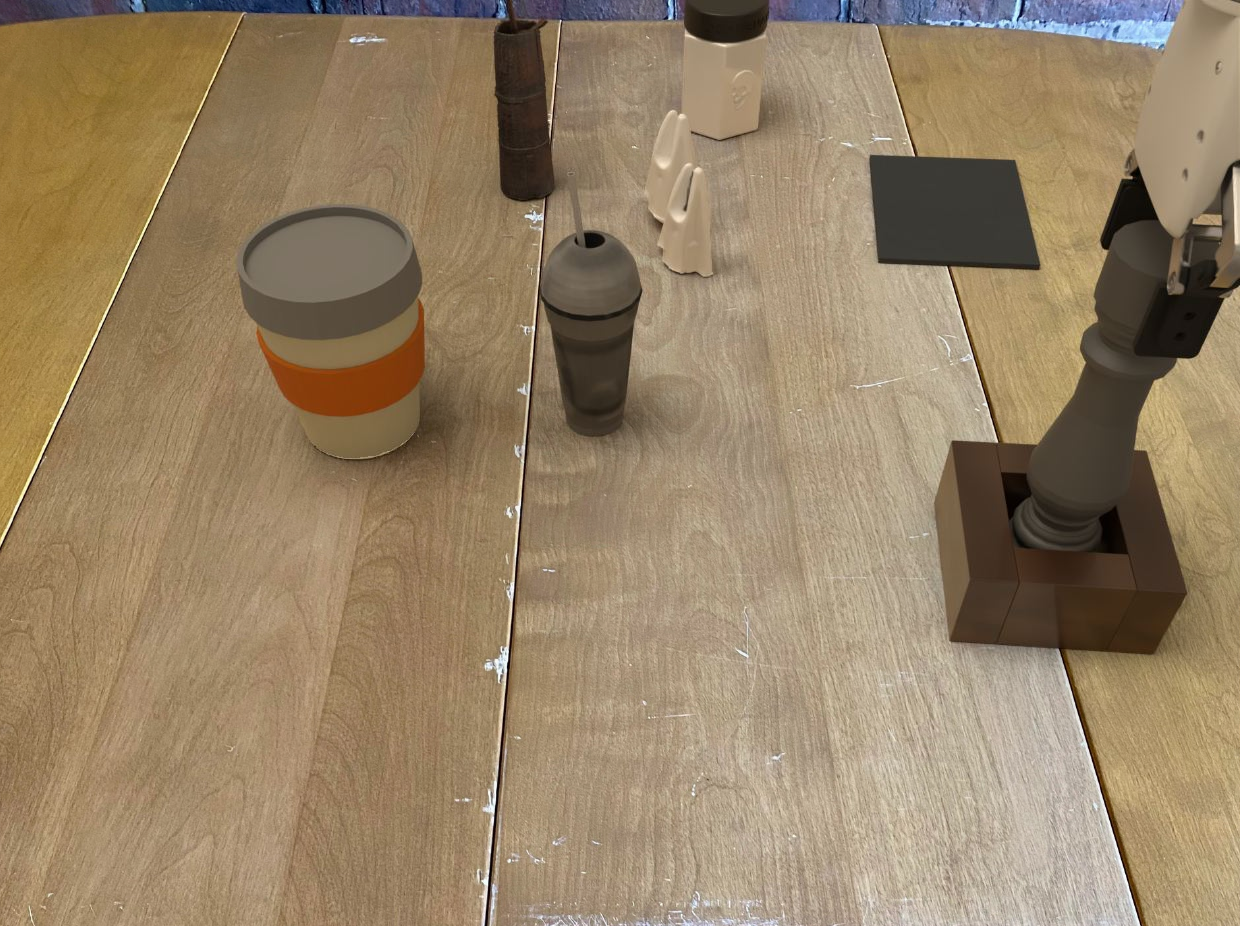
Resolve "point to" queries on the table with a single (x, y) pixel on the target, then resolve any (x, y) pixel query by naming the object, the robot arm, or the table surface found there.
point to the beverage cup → (591, 323)
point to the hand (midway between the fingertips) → (1144, 298)
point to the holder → (1051, 562)
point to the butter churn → (522, 109)
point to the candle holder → (1100, 402)
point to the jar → (723, 65)
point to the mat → (951, 212)
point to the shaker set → (680, 199)
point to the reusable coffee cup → (340, 323)
